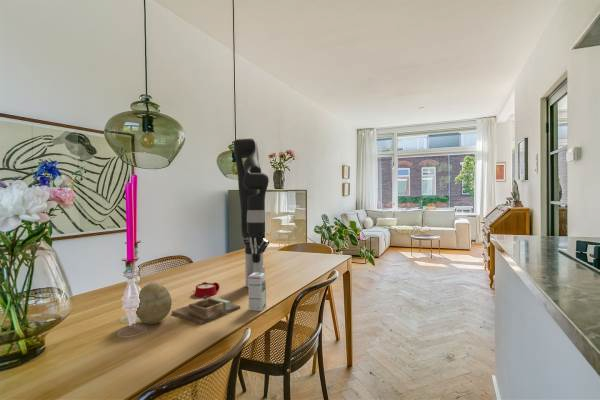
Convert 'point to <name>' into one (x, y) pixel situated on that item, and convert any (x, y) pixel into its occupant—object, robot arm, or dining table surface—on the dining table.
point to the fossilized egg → (153, 303)
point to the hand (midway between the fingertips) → (256, 262)
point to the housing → (204, 310)
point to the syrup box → (257, 291)
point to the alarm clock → (206, 289)
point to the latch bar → (227, 303)
